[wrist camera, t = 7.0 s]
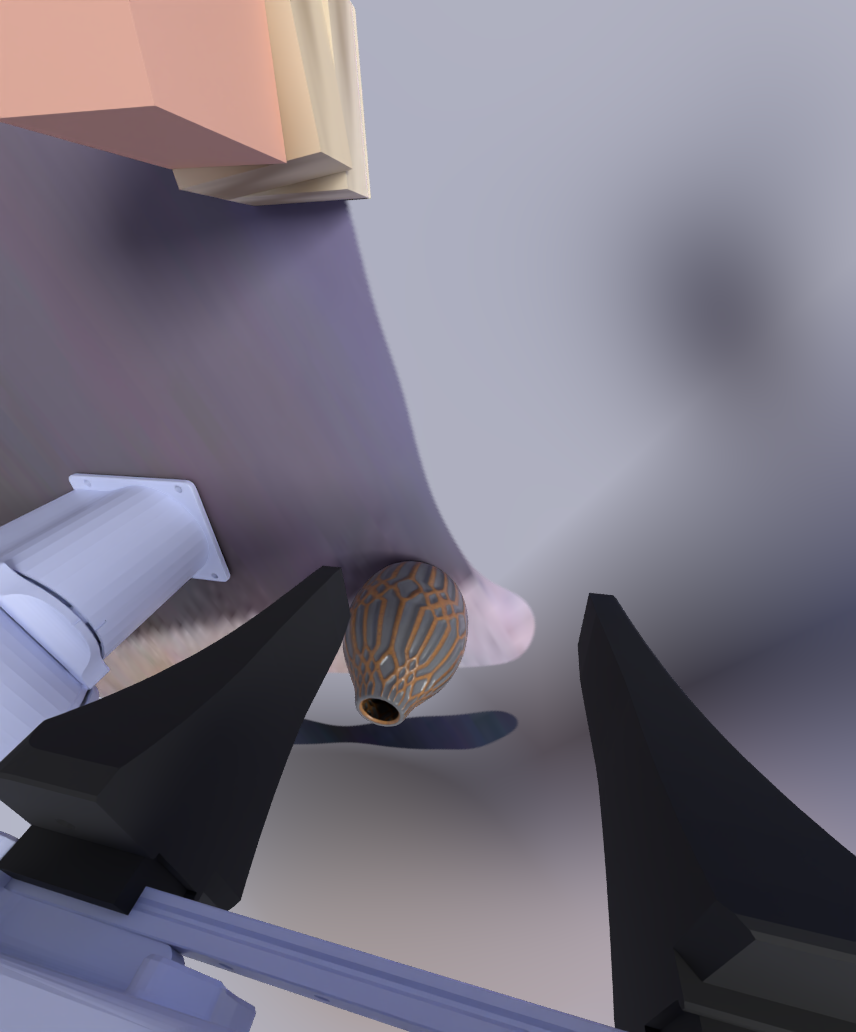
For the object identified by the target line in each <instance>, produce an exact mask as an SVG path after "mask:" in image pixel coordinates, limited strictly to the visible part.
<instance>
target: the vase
mask: <svg viewBox="0 0 856 1032" xmlns="http://www.w3.org/2000/svg"><path fill="white" fill-rule="evenodd" d="M350 614H351V617H350V620H349V623H348V626H347V629H346V632H345V635H344V638H343V652H344V657H345V661H346V665H347V668H348V671H349V674H350V677H351V679H352V682H353V685H354V688H355V704H356V708H357V711H358V712H359V713H360V715H361V716H363V717H364V718H365V719H366V720H368V721H370V722H372V723H374V724H377V725H381V726H396V725H398V724H400V723H401V722H403V720H404V719H405V718H406V717H407V715H408V714H409V713H410V712H411V711H412V710H413V709H414V708H415V707H417V706H418V705H420V704H421V703H423V702H425V701H426V700H428V699H429V698H431V697H432V696H434V695H435V694H436V693H438V692H439V691H440V690H441V689H442V688H443V687H444V686H445V685H446V684H447V683H448V682H449V680H450V679H451V678H452V676H453V675H454V673H455V671H456V670H457V668H458V666H459V664H460V662H461V659H462V657H463V654H464V651H465V647H466V642H467V635H468V616H467V609H466V605H465V601H464V599H463V596H462V594H461V592H460V590H459V588H458V587H457V585H456V584H455V583H454V581H453V580H452V579H451V578H450V577H449V576H448V575H447V574H446V573H444V572H443V571H441V570H440V569H438V568H436V567H434V566H432V565H429V564H426V563H422V562H416V561H405V562H399V563H395V564H392V565H389V566H387V567H385V568H383V569H382V570H380V571H378V572H377V573H376V574H375V575H373V576H372V577H371V578H370V579H369V580H368V581H367V582H366V583H365V584H364V585H363V586H362V588H361V589H360V591H359V592H358V594H357V595H356V597H355V599H354V601H353V602H352V605H351V607H350Z"/></svg>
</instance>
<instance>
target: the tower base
mask: <svg viewBox="0 0 856 1032" xmlns="http://www.w3.org/2000/svg"><path fill="white" fill-rule="evenodd" d="M322 2H323V7H324V13H325V18H326V24H327V29H328V35H329V40H330V46H331V51H332V57H333V62H334V68H335V73H336V79H337V84H338V90H339V95H340V101H341V106H342V112H343V117H344V123H345V128H346V134H347V139H348V145H349V150H350V156H351V161H352V167H353V169H351V170H347V171H343V172H339V173H335V174H331V175H327V176H323V177H319V178H315V179H311V180H307V181H303V182H299V183H295V184H291V185H287V186H283V187H279V188H275V189H271V190H267V191H263V192H259V193H255V194H251V195H247V196H243V197H239V198H235V199H231V200H229V201H233V202H238V203H243V204H248V205H252V206H261V205H275V204H288V203H302V202H316V201H330V200H344V199H347V200H360V199H371V193H370V181H369V169H368V156H367V144H366V133H365V121H364V109H363V97H362V84H361V72H360V60H359V49H358V36H357V24H356V12H355V8H354V6H353V5H352V3H351V2H350V0H322ZM224 200H225V199H224Z"/></svg>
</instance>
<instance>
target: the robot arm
mask: <svg viewBox="0 0 856 1032" xmlns="http://www.w3.org/2000/svg"><path fill="white" fill-rule="evenodd" d="M69 481H70V483H71V485H72V487H73V488H74V490H73V491H71V492H69V493H67V494H65V495H63V496H61V497H59V498H57V499H55V500H53V501H51V502H49V503H47V504H45V505H43V506H41V507H39V508H37V509H35V510H33V511H31V512H29V513H27V514H25V515H23V516H21V517H19V518H17V519H15V520H13V521H11V522H9V523H7V524H5V525H3V526H1V527H0V800H1V801H2V802H4V803H5V804H6V805H7V806H9V807H10V808H11V809H12V810H14V811H15V812H16V813H17V814H19V815H20V816H21V817H22V818H24V819H25V820H26V821H27V822H29V823H30V824H31V826H30V828H29V829H28V830H27V831H26V832H25V833H24V834H23V836H22V837H21V838H20V839H18V838H16V837H14V836H12V835H10V834H7V833H4V832H2V831H0V1032H249V1031H250V1028H251V1025H252V1023H253V1020H254V1017H255V1014H256V1011H255V1007H254V1006H253V1005H251V1004H249V1003H247V1002H246V1001H244V1000H242V999H241V998H239V997H237V996H236V995H234V994H233V993H232V992H230V991H229V990H228V989H226V987H225V986H224V985H223V983H222V982H221V981H219V980H216V979H214V978H211V977H209V976H207V975H205V974H202V973H200V972H198V971H196V970H193V969H191V968H188V967H186V966H185V962H184V958H183V956H186V957H189V958H192V959H195V960H198V961H201V962H204V963H207V964H210V965H213V966H216V967H219V968H222V969H225V970H228V971H231V972H234V973H237V974H240V975H243V976H245V977H249V978H252V979H255V980H257V981H260V982H263V983H266V984H269V985H272V986H275V987H278V988H281V989H284V990H287V991H290V992H293V993H296V994H299V995H302V996H305V997H308V998H311V999H314V1000H317V1001H320V1002H323V1003H326V1004H329V1005H332V1006H335V1007H338V1008H341V1009H344V1010H347V1011H350V1012H353V1013H356V1014H359V1015H362V1016H365V1017H368V1018H371V1019H374V1020H377V1021H379V1022H382V1023H385V1024H388V1025H391V1026H394V1027H397V1028H401V1029H403V1030H406V1031H409V1032H856V856H855V855H853V854H852V853H851V852H850V851H848V850H847V849H846V848H845V847H844V846H842V845H841V844H840V843H839V842H838V841H836V840H835V839H834V838H833V837H832V836H830V835H829V834H828V833H827V832H826V831H825V830H824V829H822V828H821V827H820V826H819V825H818V824H817V823H815V822H814V821H813V820H812V819H811V818H810V817H808V816H807V815H806V814H805V813H804V812H803V811H801V810H800V809H799V808H798V807H797V806H796V805H795V804H793V803H792V802H791V801H790V800H789V799H788V798H787V797H786V796H785V795H784V794H783V793H781V792H780V791H779V790H778V789H777V788H776V787H775V786H774V785H773V784H772V783H771V782H770V781H769V780H768V779H767V778H766V777H764V776H763V775H762V774H761V773H760V772H759V771H758V770H757V769H756V768H755V767H754V766H753V765H752V764H751V763H750V762H748V761H747V760H746V759H745V758H744V757H743V756H742V755H741V754H740V753H739V752H738V751H737V750H736V749H735V748H734V747H733V746H732V745H731V744H730V743H729V742H728V741H727V740H726V739H725V738H724V736H723V735H722V734H721V733H720V732H719V731H718V730H717V729H716V728H715V727H714V726H713V725H712V724H711V723H710V722H709V720H708V719H707V718H706V717H705V716H704V715H703V714H702V713H701V712H700V710H699V709H698V708H697V707H696V706H695V705H694V703H693V702H692V701H691V700H690V699H689V698H688V696H687V695H686V694H685V693H684V692H683V690H682V689H681V688H680V687H679V686H678V684H677V683H676V682H675V681H674V679H672V677H671V676H670V675H669V673H668V672H667V671H666V669H665V668H664V667H663V666H662V664H661V663H660V661H659V660H658V659H657V657H656V656H655V655H654V653H653V652H652V651H651V649H650V648H649V647H648V645H647V644H646V643H645V641H644V640H643V638H642V637H641V635H640V634H639V632H638V631H637V630H636V628H635V627H634V625H633V624H632V622H631V621H630V619H629V618H628V616H627V615H626V613H625V611H624V610H623V608H622V607H621V605H620V604H619V602H618V600H617V599H616V598H615V597H614V596H613V595H604V594H594V593H589V596H588V601H587V605H586V610H585V614H584V619H583V624H582V628H581V633H580V637H579V643H578V655H579V670H580V682H581V688H582V693H583V699H584V705H585V710H586V715H587V721H588V726H589V732H590V737H591V742H592V748H593V753H594V759H595V764H596V771H597V778H598V785H599V795H600V806H601V817H602V828H603V840H604V853H605V866H606V878H607V879H606V880H607V895H608V910H609V925H610V942H611V961H612V981H613V1003H614V1022H615V1028H613V1027H610V1026H607V1025H603V1024H600V1023H597V1022H594V1021H590V1020H587V1019H583V1018H580V1017H577V1016H574V1015H570V1014H567V1013H563V1012H560V1011H557V1010H554V1009H551V1008H547V1007H544V1006H541V1005H537V1004H534V1003H531V1002H527V1001H524V1000H521V999H517V998H514V997H511V996H507V995H504V994H501V993H498V992H494V991H490V990H488V989H484V988H481V987H478V986H474V985H471V984H468V983H464V982H461V981H458V980H454V979H451V978H448V977H444V976H441V975H438V974H434V973H431V972H428V971H425V970H421V969H418V968H415V967H412V966H408V965H405V964H401V963H398V962H394V961H392V960H388V959H385V958H382V957H378V956H375V955H372V954H368V953H365V952H362V951H359V950H355V949H352V948H349V947H345V946H342V945H339V944H335V943H332V942H329V941H325V940H322V939H319V938H315V937H312V936H309V935H306V934H302V933H299V932H296V931H292V930H289V929H286V928H282V927H279V926H275V925H272V924H269V923H266V922H263V921H259V920H256V919H253V918H249V917H246V916H243V915H239V914H236V913H233V912H229V911H228V910H230V909H231V908H232V907H234V906H235V905H236V904H237V903H238V902H239V901H240V900H241V897H242V894H243V890H244V887H245V883H246V880H247V877H248V874H249V870H250V867H251V864H252V860H253V857H254V854H255V851H256V848H257V845H258V841H259V838H260V835H261V832H262V829H263V826H264V823H265V821H266V818H267V815H268V812H269V809H270V806H271V802H272V800H273V797H274V794H275V791H276V789H277V786H278V783H279V780H280V778H281V775H282V772H283V770H284V767H285V764H286V762H287V759H288V756H289V754H290V751H291V749H292V746H293V744H294V741H295V739H296V736H297V734H298V731H299V729H300V726H301V724H302V722H303V720H304V718H305V715H306V713H307V711H308V709H309V707H310V705H311V703H312V701H313V699H314V697H315V695H316V693H317V692H318V690H319V688H320V686H321V684H322V682H323V680H324V678H325V676H326V674H327V672H328V670H329V668H330V666H331V664H332V662H333V660H334V658H335V656H336V654H337V652H338V650H339V648H340V646H341V643H342V640H343V638H344V635H345V632H346V629H347V626H348V623H349V620H350V617H351V614H350V609H349V604H348V599H347V594H346V589H345V584H344V579H343V574H342V569H341V568H340V567H330V566H322V567H321V568H319V569H318V570H316V571H315V572H314V573H312V574H311V575H310V576H308V577H307V578H306V579H304V580H303V581H302V582H301V583H299V584H298V585H297V586H295V587H294V588H293V589H292V590H290V591H289V592H288V593H286V594H285V595H284V596H282V597H281V598H280V599H278V600H277V601H276V602H274V603H273V604H272V605H270V606H269V607H268V608H266V609H265V610H263V611H262V612H260V613H259V614H258V615H256V616H255V617H253V618H252V619H250V620H249V621H247V622H246V623H245V624H243V625H242V626H240V627H239V628H237V629H236V630H234V631H233V632H231V633H230V634H228V635H226V636H225V637H223V638H222V639H220V640H218V641H217V642H215V643H213V644H212V645H210V646H208V647H207V648H205V649H203V650H201V651H200V652H198V653H196V654H194V655H193V656H191V657H189V658H187V659H185V660H183V661H181V662H179V663H177V664H175V665H173V666H171V667H169V668H167V669H165V670H163V671H162V672H160V673H158V674H156V675H154V676H151V677H149V678H147V679H145V680H143V681H141V682H139V683H136V684H134V685H132V686H130V687H127V688H125V689H123V690H120V691H118V692H116V693H114V694H111V695H109V696H106V697H104V698H102V699H99V691H98V689H97V687H96V686H95V684H96V683H97V682H98V681H99V680H100V679H101V678H102V677H103V676H105V675H106V674H107V673H108V672H109V671H110V669H109V667H108V666H107V665H106V664H105V662H104V661H103V659H105V658H106V657H107V656H108V655H109V654H110V653H111V652H112V651H113V650H114V649H115V648H116V647H117V646H118V645H120V644H121V643H122V642H123V641H124V640H125V639H126V638H127V637H128V636H129V635H130V634H131V633H132V632H133V631H135V630H136V629H137V628H138V627H139V626H140V625H141V624H142V623H143V622H144V621H145V620H146V619H147V618H148V617H150V616H151V615H152V614H153V613H154V612H155V611H156V610H157V609H158V608H159V607H160V606H161V605H162V604H164V603H165V602H166V601H167V600H168V599H169V598H170V597H171V596H172V595H173V594H174V593H175V592H176V591H177V590H179V589H180V588H181V587H182V586H183V585H184V584H185V583H186V582H187V581H188V580H189V579H190V578H196V579H205V580H213V581H222V582H226V581H227V580H228V579H229V578H230V573H229V570H228V568H227V565H226V563H225V560H224V558H223V555H222V553H221V550H220V547H219V545H218V542H217V540H216V537H215V535H214V532H213V530H212V527H211V524H210V522H209V519H208V517H207V514H206V512H205V509H204V507H203V504H202V501H201V499H200V496H199V494H198V491H197V489H196V486H195V485H194V484H193V483H192V482H191V481H188V480H179V479H162V478H145V477H129V476H112V475H96V474H79V473H76V474H73V475H71V476H69ZM180 487H181V488H180ZM182 955H183V956H182Z"/></svg>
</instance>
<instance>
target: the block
mask: <svg viewBox="0 0 856 1032" xmlns="http://www.w3.org/2000/svg"><path fill="white" fill-rule="evenodd" d="M0 122H3V123H6V124H10V125H13V126H17V127H21V128H24V129H28V130H31V131H35V132H38V133H42V134H46V135H49V136H53V137H56V138H60V139H64V140H67V141H71V142H74V143H78V144H81V145H85V146H89V147H92V148H96V149H99V150H103V151H107V152H110V153H114V154H117V155H121V156H124V157H128V158H132V159H135V160H139V161H142V162H146V163H150V164H153V165H157V166H160V167H164V168H167V169H178V168H199V167H220V166H241V165H262V164H283V163H287V161H286V153H285V146H284V139H283V132H282V124H281V117H280V110H279V103H278V96H277V88H276V81H275V74H274V67H273V59H272V52H271V45H270V38H269V31H268V23H267V16H266V9H265V2H264V0H0Z"/></svg>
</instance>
